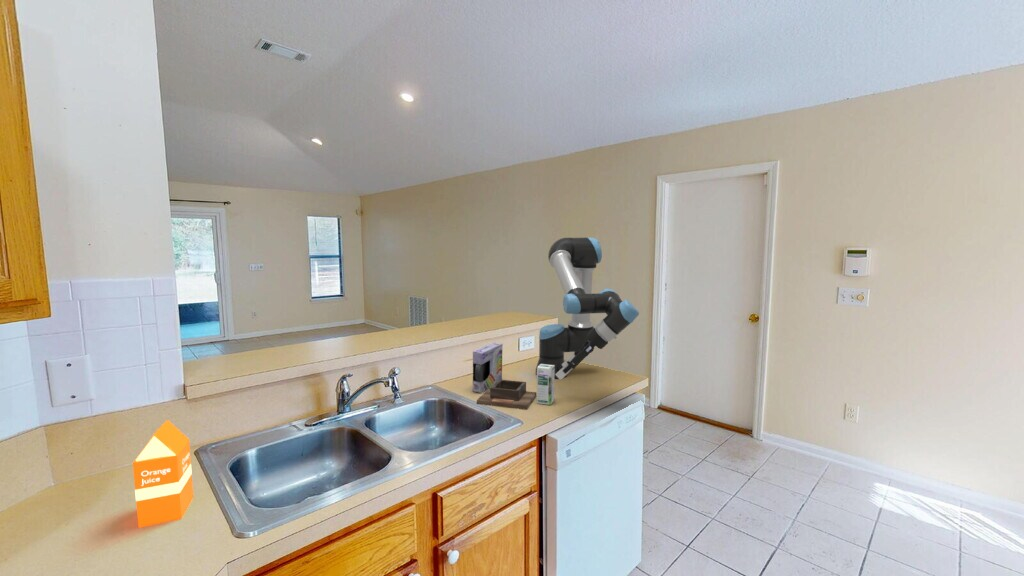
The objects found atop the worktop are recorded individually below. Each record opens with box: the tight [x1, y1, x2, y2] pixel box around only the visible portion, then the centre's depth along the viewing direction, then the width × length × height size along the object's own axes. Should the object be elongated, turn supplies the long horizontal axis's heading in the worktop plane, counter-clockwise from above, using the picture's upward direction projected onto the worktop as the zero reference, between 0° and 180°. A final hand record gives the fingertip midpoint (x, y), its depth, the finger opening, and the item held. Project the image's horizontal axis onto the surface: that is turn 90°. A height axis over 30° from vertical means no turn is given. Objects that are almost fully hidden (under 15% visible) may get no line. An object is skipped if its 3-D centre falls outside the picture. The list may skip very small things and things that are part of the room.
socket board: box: [476, 379, 537, 411], centre depth 163 cm, size 15×20×6 cm
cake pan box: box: [472, 341, 503, 394], centre depth 178 cm, size 19×5×18 cm, turn 152°
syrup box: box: [536, 364, 555, 406], centre depth 161 cm, size 6×6×14 cm
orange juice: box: [132, 419, 194, 529], centre depth 93 cm, size 8×9×20 cm
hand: (560, 372), depth 157 cm, fingers open, 13 cm apart
